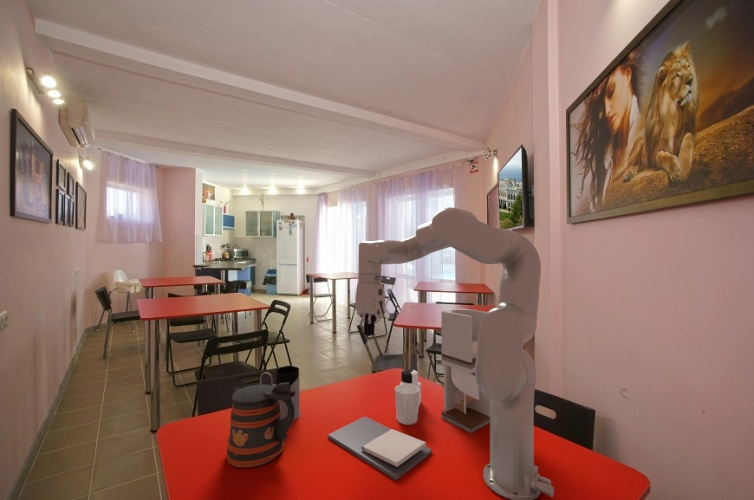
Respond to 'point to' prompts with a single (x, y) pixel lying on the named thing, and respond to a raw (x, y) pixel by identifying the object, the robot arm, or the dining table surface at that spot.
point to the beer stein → (258, 424)
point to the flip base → (365, 432)
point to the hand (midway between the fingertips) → (369, 334)
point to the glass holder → (293, 378)
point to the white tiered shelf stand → (462, 370)
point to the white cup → (407, 403)
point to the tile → (394, 447)
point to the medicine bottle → (411, 379)
